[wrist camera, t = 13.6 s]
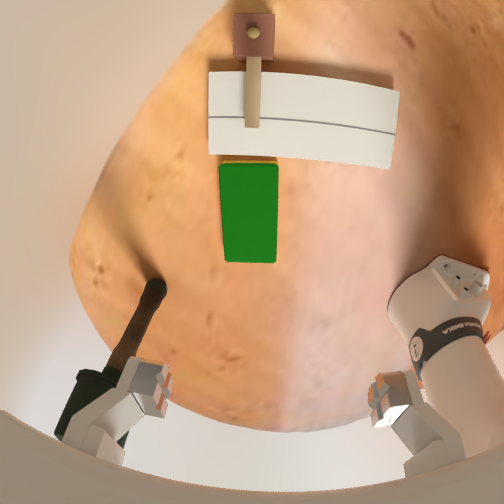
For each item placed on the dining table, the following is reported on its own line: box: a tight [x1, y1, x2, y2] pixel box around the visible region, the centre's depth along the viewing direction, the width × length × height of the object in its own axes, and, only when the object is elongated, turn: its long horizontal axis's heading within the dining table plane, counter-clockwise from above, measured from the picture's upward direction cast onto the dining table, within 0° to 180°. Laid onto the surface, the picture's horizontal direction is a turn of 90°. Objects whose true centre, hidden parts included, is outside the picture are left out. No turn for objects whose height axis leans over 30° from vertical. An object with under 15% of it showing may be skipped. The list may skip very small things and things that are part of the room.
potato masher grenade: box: [54, 279, 167, 449], centre depth 33 cm, size 8×9×30 cm
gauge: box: [233, 13, 275, 128], centre depth 26 cm, size 4×13×6 cm, turn 178°
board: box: [208, 71, 400, 170], centre depth 30 cm, size 22×10×2 cm, turn 88°
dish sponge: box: [219, 160, 279, 263], centre depth 37 cm, size 7×14×2 cm, turn 1°
